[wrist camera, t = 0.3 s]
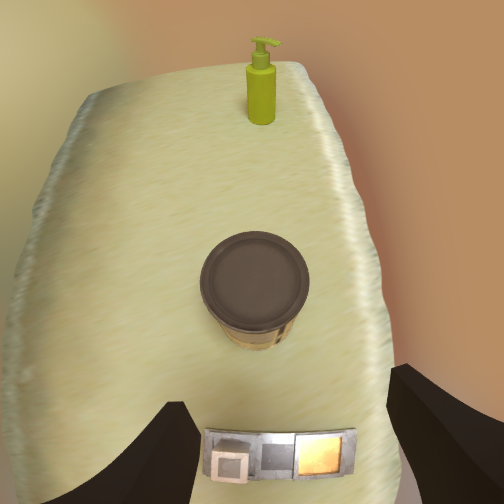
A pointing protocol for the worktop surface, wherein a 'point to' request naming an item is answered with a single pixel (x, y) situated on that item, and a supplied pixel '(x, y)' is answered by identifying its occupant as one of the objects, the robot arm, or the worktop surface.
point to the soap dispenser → (261, 83)
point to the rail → (290, 453)
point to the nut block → (230, 462)
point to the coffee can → (255, 287)
